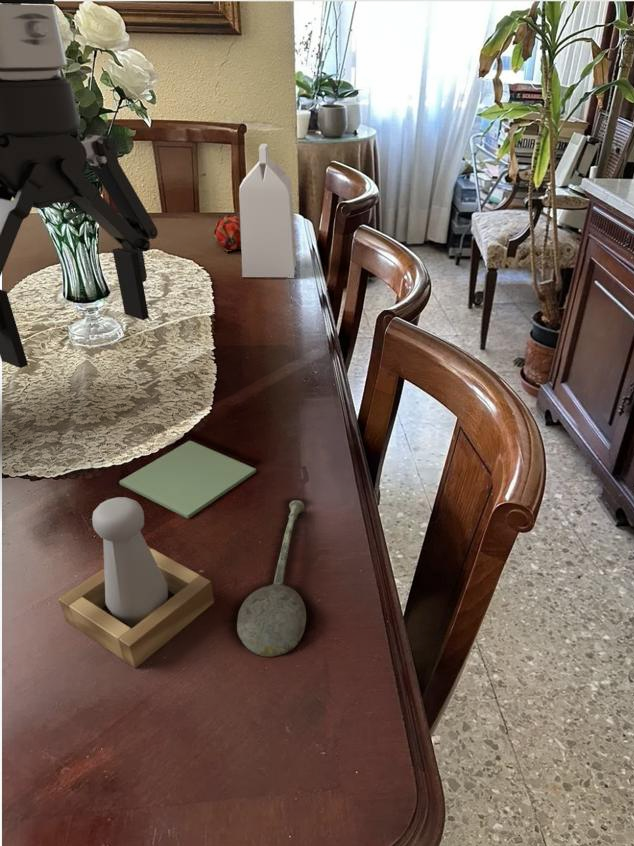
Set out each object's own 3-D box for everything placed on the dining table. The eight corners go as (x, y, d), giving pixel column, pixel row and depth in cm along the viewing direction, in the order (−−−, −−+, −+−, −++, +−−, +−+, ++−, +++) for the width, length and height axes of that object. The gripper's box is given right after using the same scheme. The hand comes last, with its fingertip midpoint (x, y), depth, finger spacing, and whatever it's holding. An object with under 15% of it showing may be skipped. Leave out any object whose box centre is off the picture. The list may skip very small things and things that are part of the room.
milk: (247, 262, 157) (238, 140, 142) (296, 263, 158) (292, 141, 143) (242, 278, 147) (231, 150, 132) (294, 279, 148) (289, 151, 133)
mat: (119, 484, 83) (118, 481, 82) (190, 443, 91) (189, 440, 90) (188, 519, 77) (187, 515, 77) (256, 472, 85) (256, 468, 85)
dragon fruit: (239, 248, 172) (235, 269, 163) (210, 228, 168) (204, 249, 159) (256, 222, 167) (253, 242, 159) (227, 201, 164) (222, 221, 155)
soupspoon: (230, 659, 61) (300, 665, 61) (228, 635, 59) (301, 642, 59) (270, 508, 79) (325, 513, 79) (270, 486, 77) (326, 491, 77)
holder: (65, 621, 64) (58, 598, 62) (146, 563, 71) (141, 542, 69) (135, 668, 59) (129, 646, 58) (214, 602, 66) (211, 581, 65)
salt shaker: (183, 602, 66) (164, 498, 59) (145, 642, 62) (119, 535, 55) (137, 584, 68) (112, 481, 61) (97, 621, 64) (66, 516, 56)
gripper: (-133, 86, 40) (-22, 399, 52) (174, 69, 57) (203, 307, 69) (-191, 80, 43) (-74, 375, 55) (116, 65, 60) (154, 293, 73)
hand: (80, 338), depth 62 cm, fingers open, 13 cm apart
